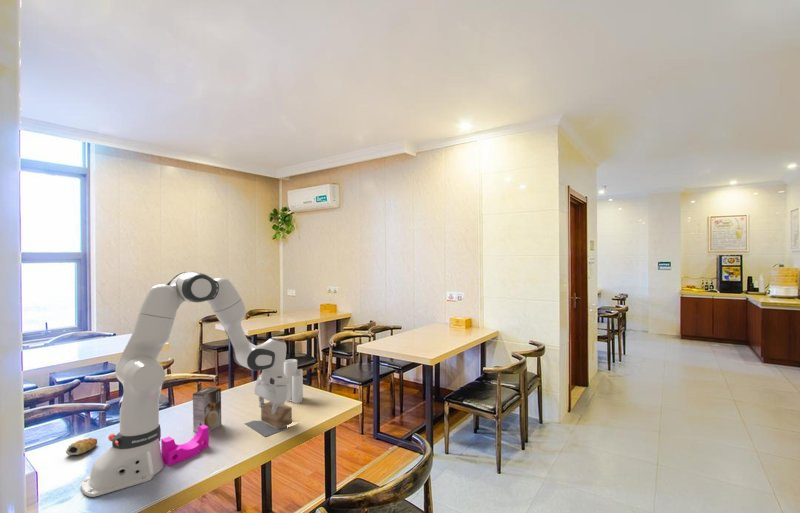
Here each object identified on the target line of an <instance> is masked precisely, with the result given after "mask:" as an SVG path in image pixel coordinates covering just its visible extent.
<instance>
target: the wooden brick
mask: <svg viewBox="0 0 800 513" xmlns="http://www.w3.org/2000/svg"><path fill="white" fill-rule="evenodd" d="M264 403H265V405H264V407H263V408H261V407H260V408H261V410H260V412H261V413H260V418H261V419H260V421H263V422H265V423H267V424H269V425H270V426H272V427H274V428H276V429H279V428H281V427H284V426H287V425H289V424H291V423H292V421H293V419H292V418H293V416H292V415H293V413H292V410H293V409H292V408H293V407H292V406H290V405H287V404H286V403H284V404H281V405H279V406H278V407H277V409H276V413H275V414H272V413H270V410H271V409H272V407H273V403H272V402H270V401H268V402H264Z"/></svg>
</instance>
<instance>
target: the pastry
mask: <svg viewBox="0 0 800 513" xmlns="http://www.w3.org/2000/svg"><path fill="white" fill-rule="evenodd" d="M97 444H98V439H97V438H92V437H89V438H85V439H81V440H80V439H79V440H76V441H75V442H73V443H71V444H70V445H68V448H66V450H65V454H66V455H67V456H73V455H81V454H84V453H86V452H88V451H90V450H92V449H93V448H95V447H96V446H97Z"/></svg>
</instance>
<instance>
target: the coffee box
mask: <svg viewBox="0 0 800 513" xmlns="http://www.w3.org/2000/svg"><path fill="white" fill-rule="evenodd" d="M221 389H222V387H214V386H208V387H206V388H203V389H201V390H199V391H196V392H194V393H192V420H193V422H192V423H193V424H192V425H193V426H192V427H193V428H192V430H193V433H197V431H198V427H199V426H201V425H206V426H208V427H209V432H211V431H213V430H214V429H216V428H218V427H219V426H221V425H222V390H221Z"/></svg>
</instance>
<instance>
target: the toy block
mask: <svg viewBox="0 0 800 513" xmlns="http://www.w3.org/2000/svg"><path fill="white" fill-rule="evenodd" d="M209 432H210V431H209V427H208V426H206V425H201V426H199V427H198V431H197V432H195V435H194V436H192V439H190V440H188V441H187V442H185V443H182V444H177V443H176V441H175V439H174V438H172V437H171V436H167V437H164V438H160V449H161V454H162V458H163V461H164V463H165V465H167V466H168V467H170V466H173V465H175V464H177V463H179V462H182V461H185V460H188V459H190V458H193V457H195V456H197V455H199V454H200V451H201V450H203V449H206V448H208V447H210V440H209V439H210V436H209V434H210V433H209Z"/></svg>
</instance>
